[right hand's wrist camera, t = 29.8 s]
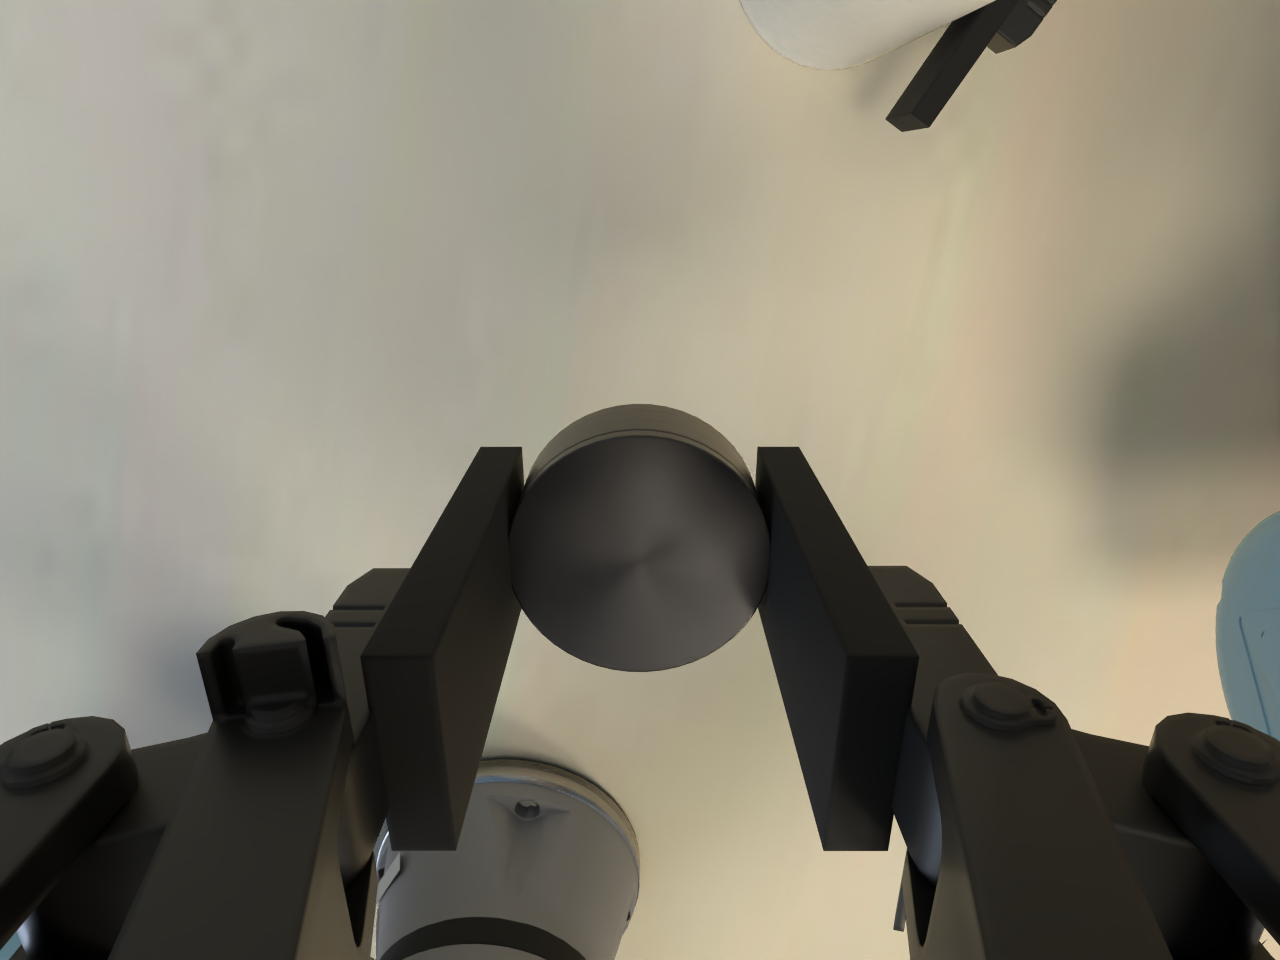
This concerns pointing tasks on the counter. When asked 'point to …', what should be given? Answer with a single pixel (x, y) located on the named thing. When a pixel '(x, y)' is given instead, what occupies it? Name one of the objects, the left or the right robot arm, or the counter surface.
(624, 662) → the cap
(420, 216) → the counter surface
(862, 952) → the counter surface
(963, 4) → the bottle
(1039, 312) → the counter surface
